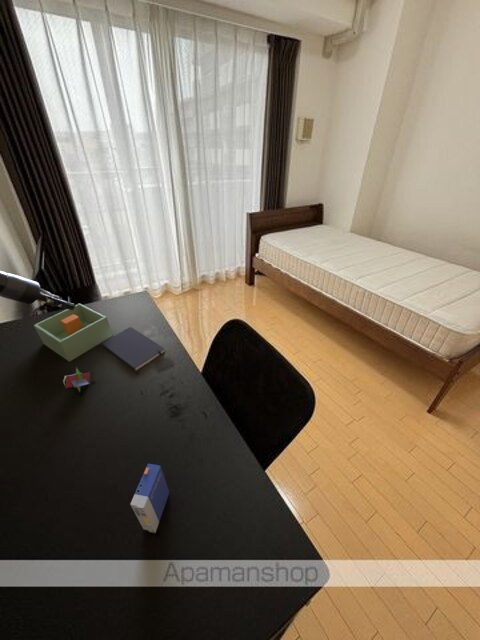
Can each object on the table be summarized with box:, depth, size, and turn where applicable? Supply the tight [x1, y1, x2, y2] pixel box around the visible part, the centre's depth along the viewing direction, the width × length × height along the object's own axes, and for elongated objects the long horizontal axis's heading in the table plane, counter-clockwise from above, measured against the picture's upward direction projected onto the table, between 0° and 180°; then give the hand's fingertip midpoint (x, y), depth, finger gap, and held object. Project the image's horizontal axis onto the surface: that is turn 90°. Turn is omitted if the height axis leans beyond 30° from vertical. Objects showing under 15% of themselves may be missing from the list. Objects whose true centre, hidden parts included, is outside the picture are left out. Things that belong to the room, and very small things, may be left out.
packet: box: [61, 314, 83, 336], centre depth 105 cm, size 4×5×9 cm
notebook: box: [100, 326, 166, 372], centre depth 103 cm, size 13×2×21 cm
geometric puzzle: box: [62, 366, 91, 393], centre depth 87 cm, size 7×7×8 cm
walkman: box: [130, 463, 170, 534], centre depth 57 cm, size 8×3×12 cm, turn 170°
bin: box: [33, 303, 114, 362], centre depth 106 cm, size 18×18×9 cm
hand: (67, 303), depth 100 cm, fingers open, 8 cm apart
